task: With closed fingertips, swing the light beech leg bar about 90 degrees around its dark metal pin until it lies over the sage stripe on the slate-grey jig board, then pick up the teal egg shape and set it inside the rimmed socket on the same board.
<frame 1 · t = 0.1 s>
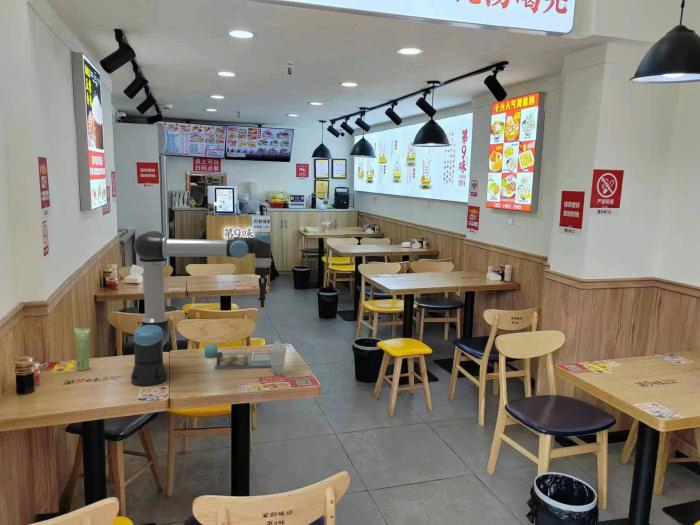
hand: (262, 310, 245), 28 cm above the table, fingers open, 13 cm apart
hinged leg: (232, 358, 247), point 4 cm above the table, hinge at 0.0°
jig board: (248, 361, 257), on the table
soft serve ice cream cone: (277, 373, 241), on the table
teal egg shape: (211, 356, 264), on the table
tube: (83, 369, 240), on the table
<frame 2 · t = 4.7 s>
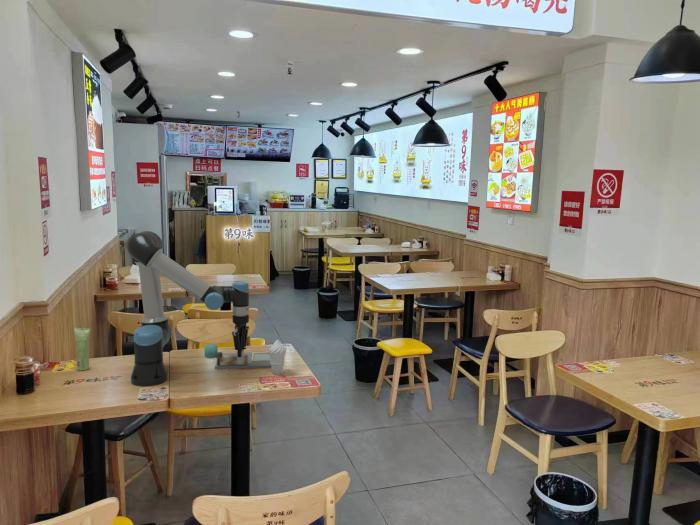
hand: (240, 363, 246), 3 cm above the table, fingers closed
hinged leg: (232, 358, 247), point 4 cm above the table, hinge at 3.6°, touching gripper
everything else where it was.
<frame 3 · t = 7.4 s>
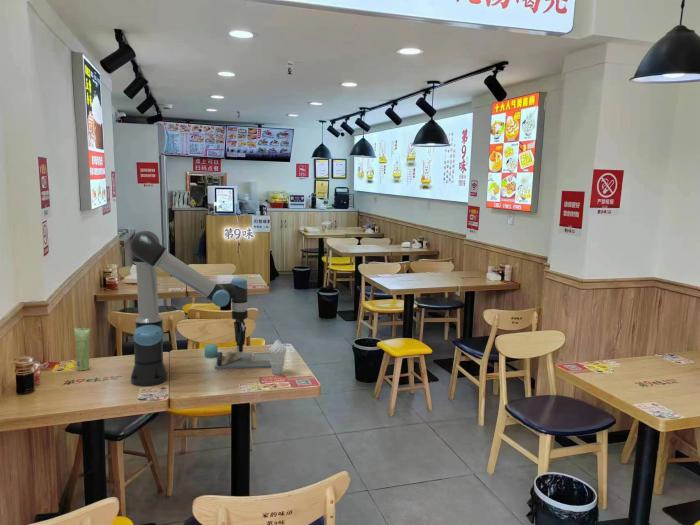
hand: (240, 357, 254), 3 cm above the table, fingers closed
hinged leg: (228, 355, 251), point 4 cm above the table, hinge at 49.0°, touching gripper
everything else where it was.
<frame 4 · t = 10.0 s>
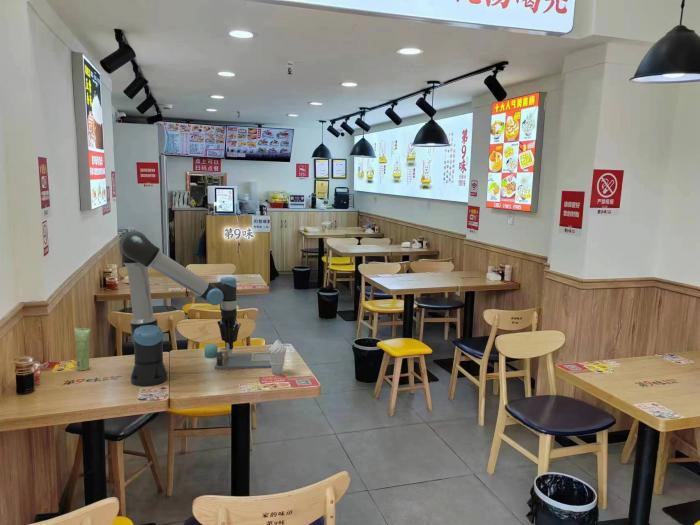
hand: (229, 355, 257), 3 cm above the table, fingers closed
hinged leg: (221, 354, 252), point 4 cm above the table, hinge at 85.4°, touching gripper
everything else where it was.
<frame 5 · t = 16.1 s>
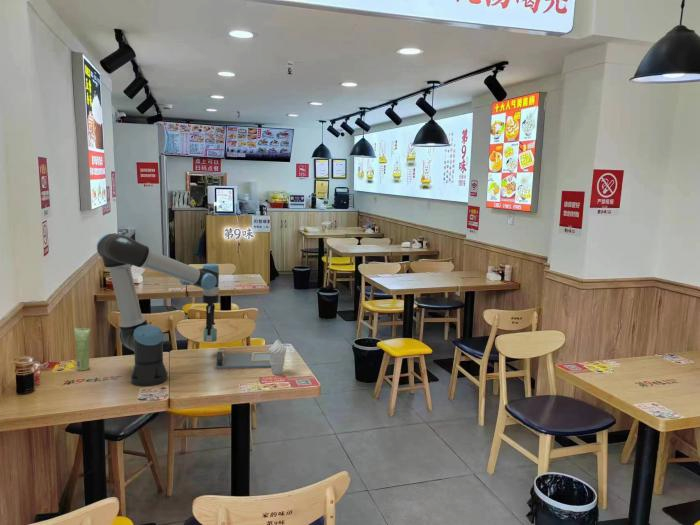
hand: (209, 339, 262), 9 cm above the table, fingers closed on teal egg shape, 6 cm apart
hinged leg: (220, 354, 252), point 4 cm above the table, hinge at 90.8°
teal egg shape: (210, 340, 262), point 8 cm above the table, touching gripper
everything else where it was.
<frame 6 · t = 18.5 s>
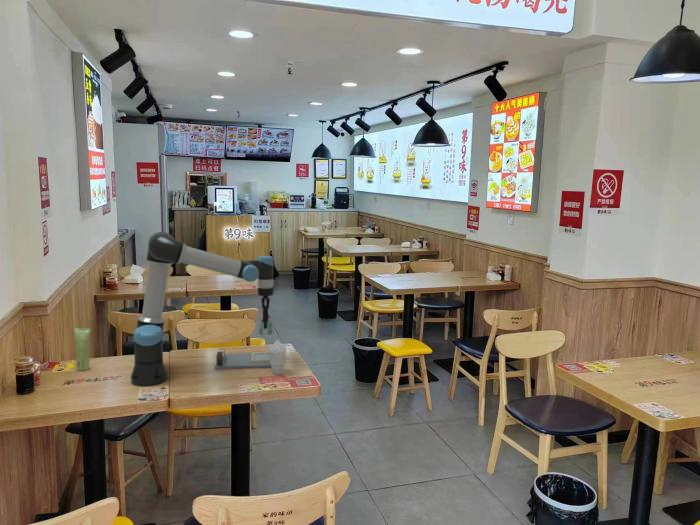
hand: (265, 332, 258), 14 cm above the table, fingers closed on teal egg shape, 6 cm apart
teal egg shape: (265, 333, 258), point 14 cm above the table, touching gripper
everything else where it was.
when the fingers open (2 cm above the table, at t = 20.9 s): teal egg shape stays where it is, resting on jig board.
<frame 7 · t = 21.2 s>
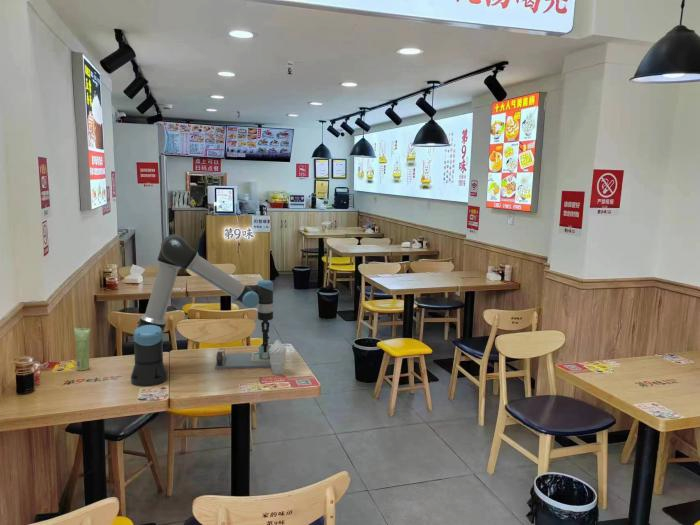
hand: (265, 354, 259), 3 cm above the table, fingers open, 10 cm apart
teal egg shape: (265, 357, 260), point 1 cm above the table, touching jig board
everything else where it was.
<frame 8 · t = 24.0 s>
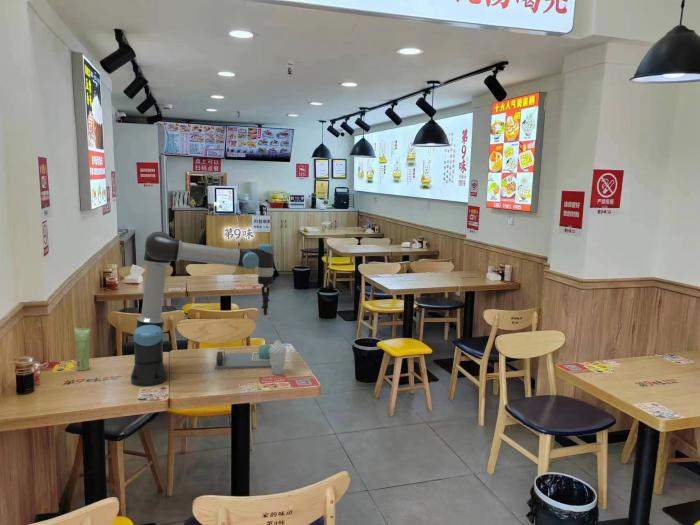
hand: (265, 317, 257), 22 cm above the table, fingers open, 13 cm apart
nothing on the table moved.
at the end: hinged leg at +91° (first picture: +0°); teal egg shape inside the target area on the jig board (0.1 cm from its centre), point 1.3 cm above the jig board's base; teal egg shape tilted 0° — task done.
